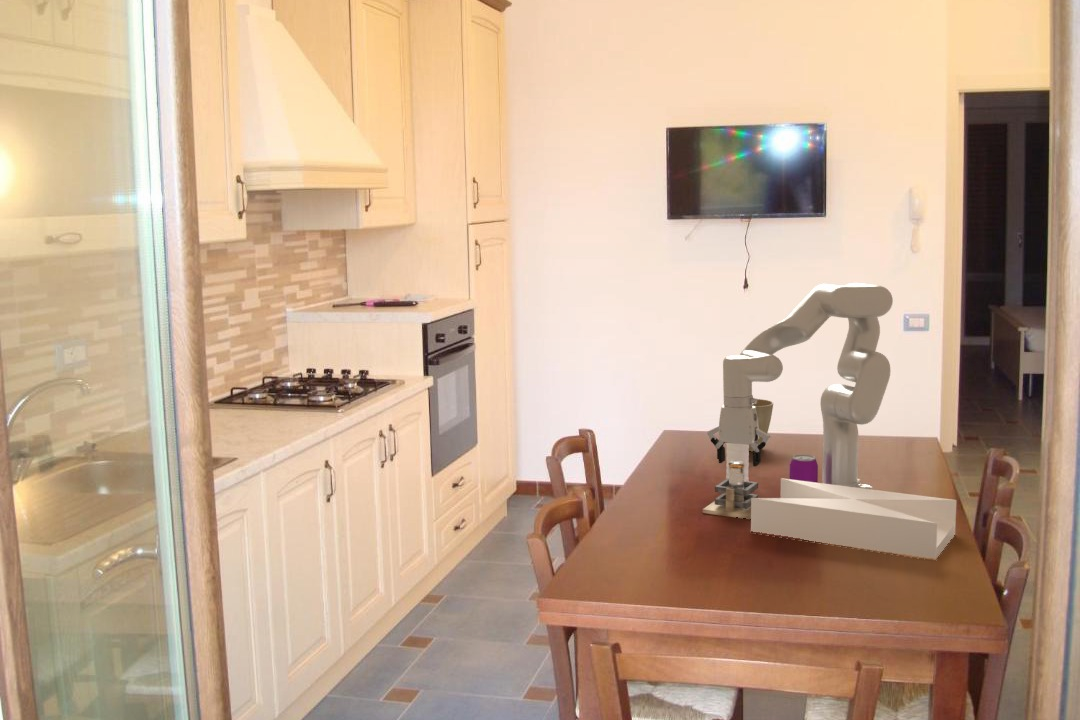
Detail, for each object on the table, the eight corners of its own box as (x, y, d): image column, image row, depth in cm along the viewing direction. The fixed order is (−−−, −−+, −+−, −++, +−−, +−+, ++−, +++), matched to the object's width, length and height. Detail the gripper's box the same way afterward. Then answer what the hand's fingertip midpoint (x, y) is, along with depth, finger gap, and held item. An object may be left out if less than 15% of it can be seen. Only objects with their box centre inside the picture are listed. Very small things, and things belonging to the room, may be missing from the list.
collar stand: (769, 506, 297) (770, 481, 296) (752, 519, 285) (752, 494, 284) (721, 499, 304) (721, 475, 303) (702, 512, 292) (702, 487, 291)
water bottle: (746, 487, 316) (747, 403, 312) (724, 485, 318) (725, 402, 314) (751, 479, 324) (752, 397, 321) (729, 478, 326) (729, 396, 323)
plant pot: (779, 447, 365) (779, 400, 362) (763, 456, 352) (763, 408, 350) (737, 442, 373) (737, 396, 370) (720, 451, 360) (720, 404, 358)
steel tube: (746, 504, 295) (746, 461, 293) (741, 508, 292) (741, 465, 290) (731, 502, 297) (731, 460, 296) (726, 506, 294) (726, 463, 292)
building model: (750, 534, 275) (751, 497, 273) (780, 511, 293) (780, 477, 292) (935, 562, 251) (937, 523, 250) (955, 536, 270) (956, 499, 268)
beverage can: (785, 500, 302) (786, 458, 300) (793, 493, 309) (793, 452, 307) (813, 504, 298) (814, 461, 297) (820, 496, 305) (821, 455, 303)
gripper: (773, 400, 289) (774, 463, 292) (712, 397, 298) (713, 457, 300) (764, 406, 283) (765, 470, 285) (702, 402, 291) (703, 464, 294)
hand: (738, 463), depth 293 cm, fingers open, 9 cm apart
